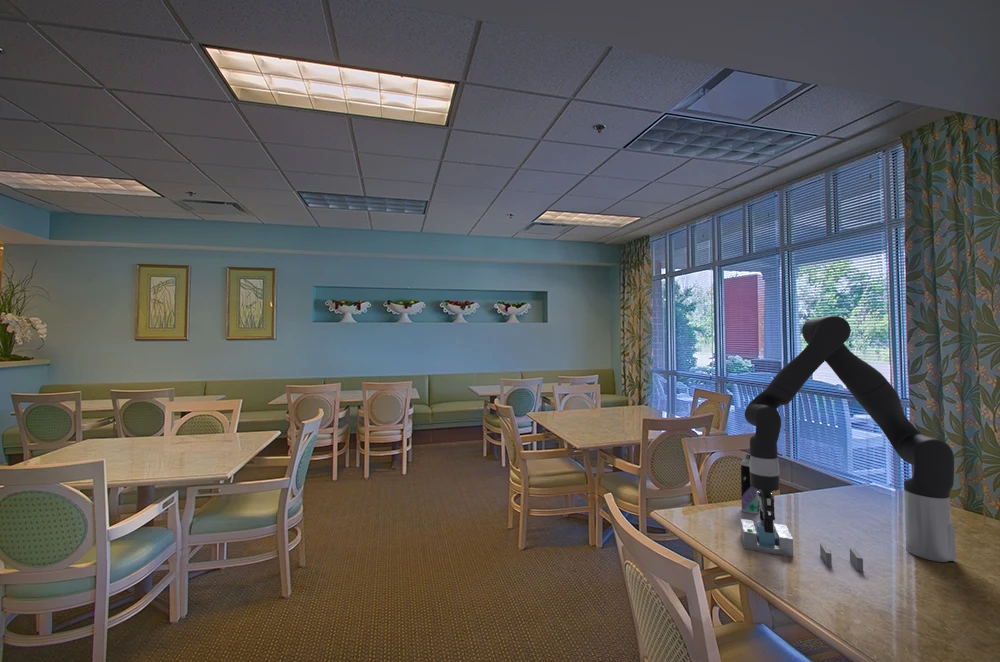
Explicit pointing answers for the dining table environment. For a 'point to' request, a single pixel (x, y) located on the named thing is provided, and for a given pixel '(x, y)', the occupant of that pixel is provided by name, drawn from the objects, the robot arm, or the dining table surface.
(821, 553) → the gray parallel plates
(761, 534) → the plug
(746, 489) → the spray can
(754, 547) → the block
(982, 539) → the dining table surface
